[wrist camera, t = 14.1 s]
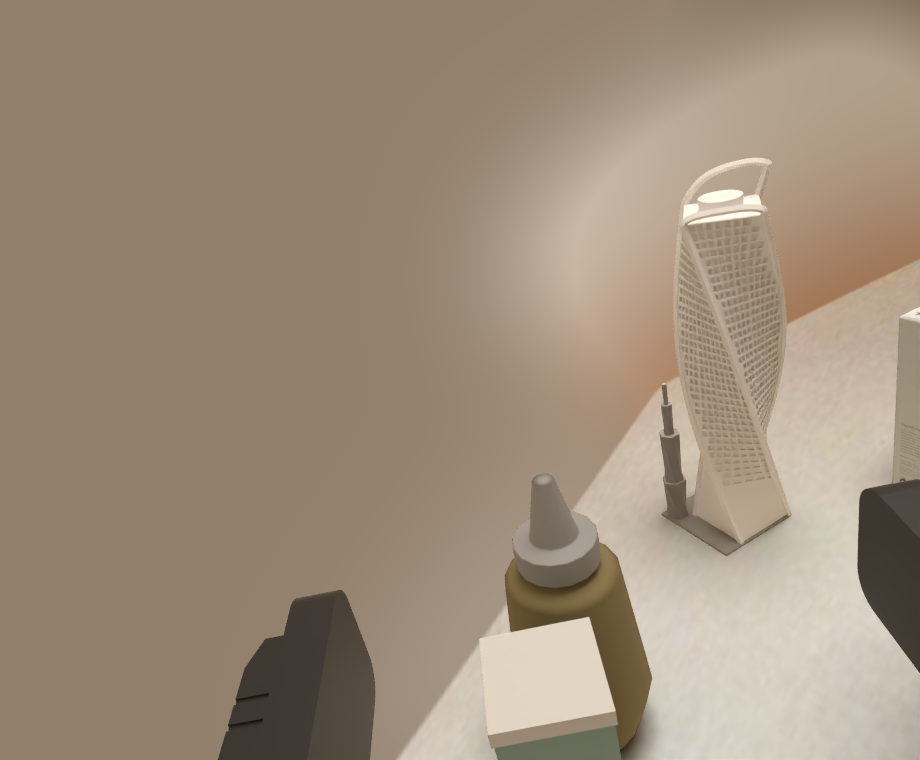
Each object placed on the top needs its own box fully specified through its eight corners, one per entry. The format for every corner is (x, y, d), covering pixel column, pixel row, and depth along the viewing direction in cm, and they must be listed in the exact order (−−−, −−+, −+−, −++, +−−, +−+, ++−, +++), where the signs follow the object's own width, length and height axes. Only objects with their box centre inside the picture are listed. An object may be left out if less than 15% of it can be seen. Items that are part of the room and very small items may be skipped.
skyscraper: (735, 475, 64) (714, 152, 52) (816, 516, 57) (813, 156, 45) (662, 517, 61) (622, 186, 49) (738, 566, 54) (713, 195, 42)
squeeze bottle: (503, 746, 45) (436, 511, 37) (563, 650, 50) (515, 429, 43) (626, 802, 40) (578, 546, 32) (677, 690, 46) (647, 449, 38)
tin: (618, 774, 38) (589, 616, 34) (645, 876, 34) (615, 711, 29) (522, 791, 39) (479, 638, 34) (535, 896, 34) (487, 735, 29)
